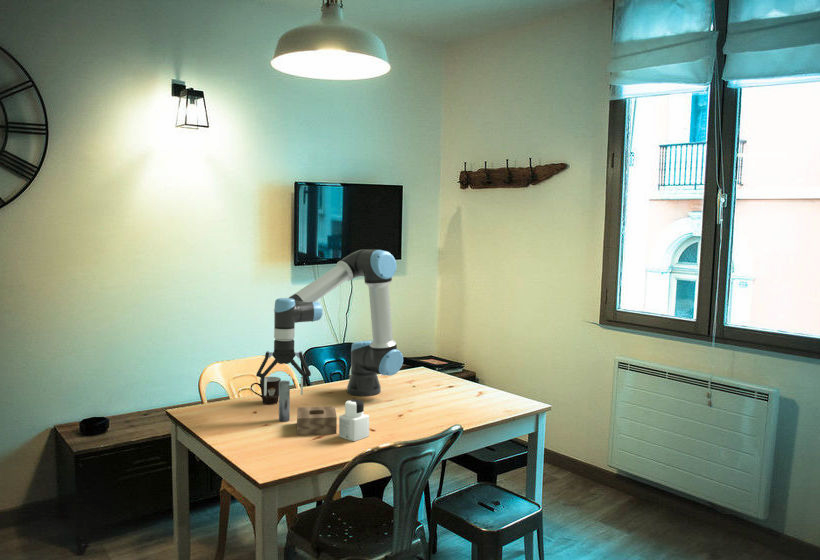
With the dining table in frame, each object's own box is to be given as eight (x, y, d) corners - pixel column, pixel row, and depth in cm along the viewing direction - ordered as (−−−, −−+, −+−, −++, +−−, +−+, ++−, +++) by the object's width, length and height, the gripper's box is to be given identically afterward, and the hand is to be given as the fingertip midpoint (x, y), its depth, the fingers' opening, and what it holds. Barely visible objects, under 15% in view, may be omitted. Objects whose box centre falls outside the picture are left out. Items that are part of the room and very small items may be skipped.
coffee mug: (283, 400, 272) (283, 377, 271) (277, 405, 263) (277, 381, 262) (256, 399, 273) (256, 375, 272) (249, 404, 264) (249, 380, 263)
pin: (289, 418, 246) (289, 380, 245) (289, 421, 242) (289, 382, 241) (279, 418, 245) (279, 380, 244) (278, 422, 241) (278, 383, 240)
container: (353, 431, 231) (354, 396, 230) (369, 436, 227) (369, 400, 226) (338, 437, 226) (338, 401, 224) (354, 441, 221) (354, 405, 220)
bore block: (334, 421, 243) (334, 406, 242) (336, 433, 229) (336, 417, 228) (297, 423, 240) (297, 407, 240) (296, 435, 227) (297, 418, 226)
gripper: (317, 337, 247) (316, 391, 248) (251, 337, 243) (250, 392, 244) (317, 340, 239) (316, 396, 241) (249, 340, 235) (249, 397, 237)
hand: (283, 394), depth 243 cm, fingers open, 13 cm apart
